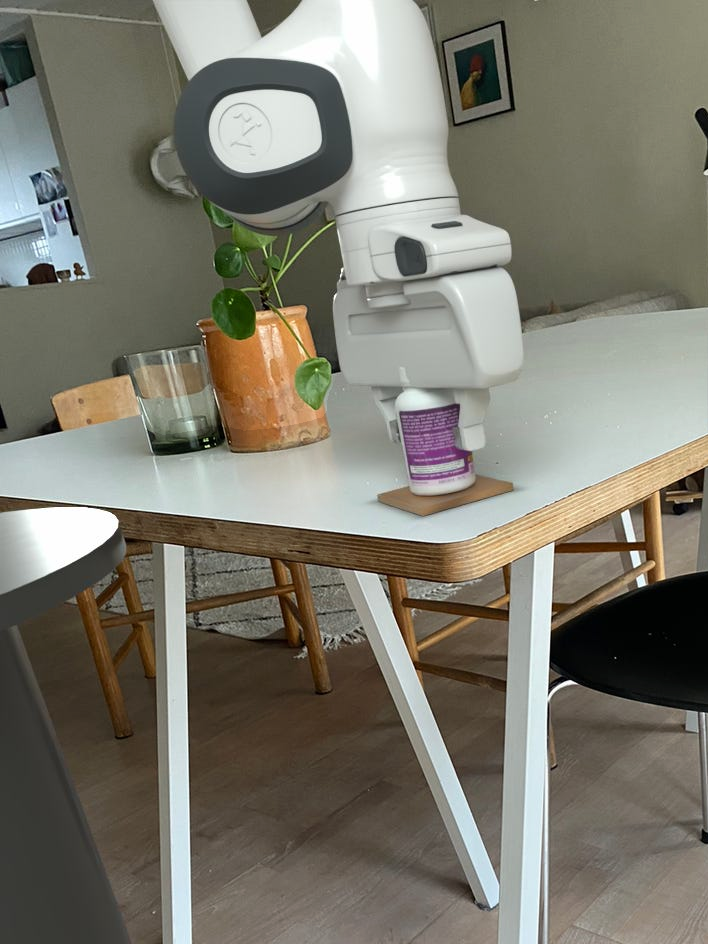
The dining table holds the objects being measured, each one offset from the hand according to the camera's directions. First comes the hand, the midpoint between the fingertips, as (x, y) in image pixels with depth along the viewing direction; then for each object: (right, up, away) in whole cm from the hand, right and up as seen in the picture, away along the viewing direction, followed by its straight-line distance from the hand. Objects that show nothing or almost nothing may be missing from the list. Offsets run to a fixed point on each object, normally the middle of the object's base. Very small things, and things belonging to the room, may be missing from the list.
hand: (435, 445), depth 71 cm
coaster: (+1, -4, +2) cm, 4 cm away
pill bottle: (+1, -3, +1) cm, 4 cm away
